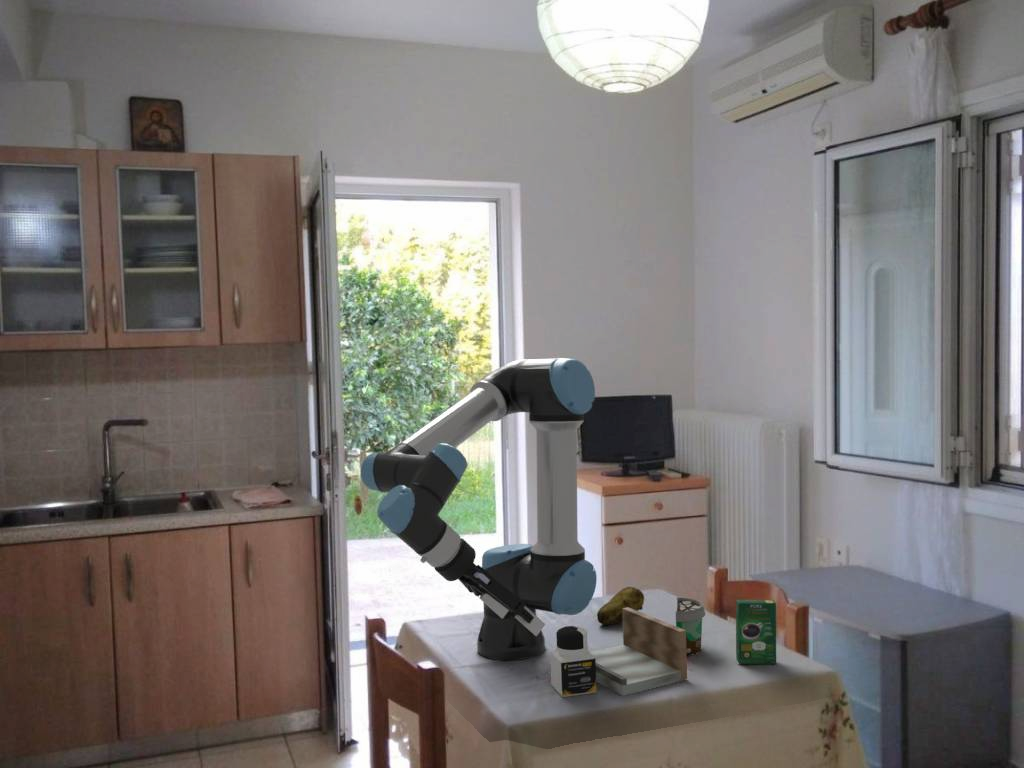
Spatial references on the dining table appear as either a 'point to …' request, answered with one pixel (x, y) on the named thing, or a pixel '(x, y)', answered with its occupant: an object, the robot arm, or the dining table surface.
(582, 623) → the dining table surface
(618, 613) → the potato
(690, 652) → the food container
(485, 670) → the dining table surface
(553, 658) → the medicine bottle
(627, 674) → the wall board
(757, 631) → the coffee box
